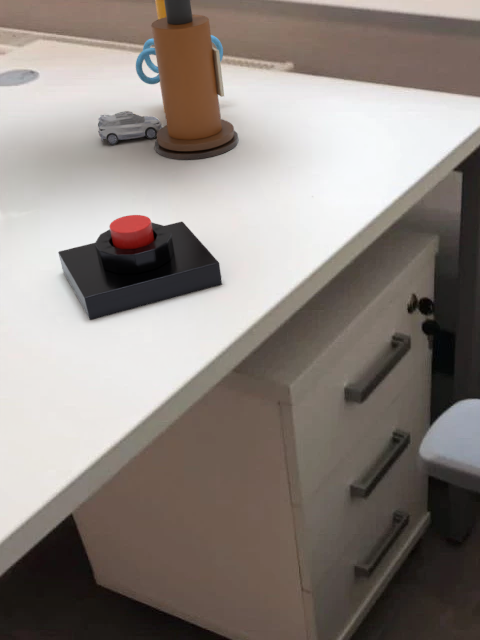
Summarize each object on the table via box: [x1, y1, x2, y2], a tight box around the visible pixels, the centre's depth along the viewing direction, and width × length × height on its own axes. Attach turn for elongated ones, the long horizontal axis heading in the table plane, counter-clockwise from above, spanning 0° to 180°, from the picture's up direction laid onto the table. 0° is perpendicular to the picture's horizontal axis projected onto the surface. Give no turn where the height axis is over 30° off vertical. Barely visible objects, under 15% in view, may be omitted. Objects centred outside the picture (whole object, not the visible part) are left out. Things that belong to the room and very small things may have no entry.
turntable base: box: [154, 130, 239, 160], centre depth 106 cm, size 10×10×1 cm
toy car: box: [97, 110, 164, 146], centre depth 108 cm, size 4×8×3 cm, turn 105°
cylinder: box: [135, 0, 224, 113], centre depth 111 cm, size 12×10×15 cm
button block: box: [58, 221, 223, 321], centre depth 79 cm, size 12×10×4 cm
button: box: [109, 214, 154, 249], centre depth 77 cm, size 4×4×2 cm
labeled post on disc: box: [150, 0, 235, 151], centre depth 100 cm, size 9×9×19 cm
